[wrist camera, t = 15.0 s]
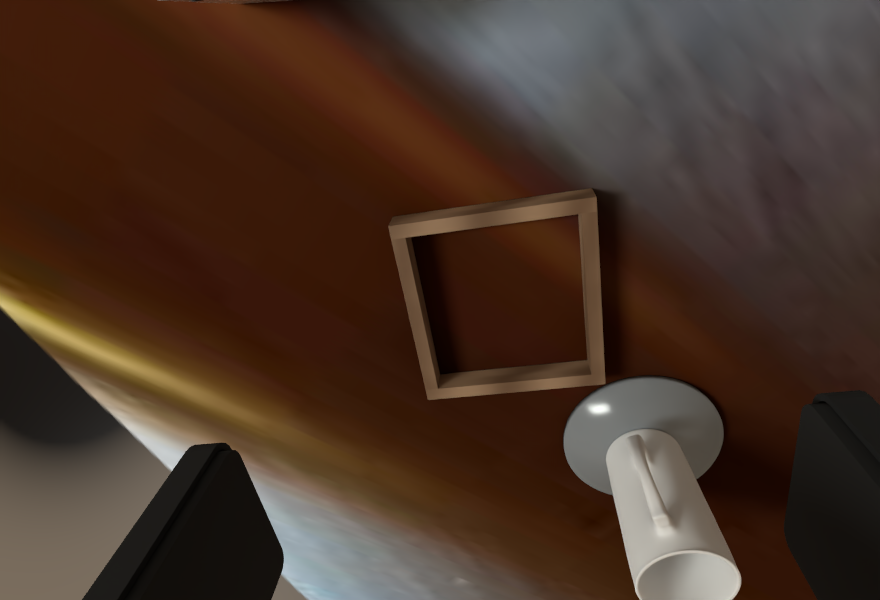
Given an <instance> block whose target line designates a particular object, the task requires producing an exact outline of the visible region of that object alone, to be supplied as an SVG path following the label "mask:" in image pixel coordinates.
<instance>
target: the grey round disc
mask: <svg viewBox="0 0 880 600" xmlns="http://www.w3.org/2000/svg"><path fill="white" fill-rule="evenodd" d="M638 429H655V430H659V431H662V432H665V433H667V434H669V435H670V436H672V437H673V438H674V439H675V440H676V441H677V443H678V444H679V446H680V448H681V450H682V452H683V454H684V456H685V458H686V460H687V462H688V464H689V466H690V468H691V470H692V472H693V474H694V476H695V478H696V479H698V478H699V477H700V476H701V475H703V474H704V473H705V472H706V471H707V470H708V469H709V468H710V467H711V465H712V464H713V463H714V461H715V460H716V458H717V456H718V454H719V452H720V450H721V447H722V443H723V437H724V432H723V424H722V420H721V418H720V415H719V413H718V411H717V410H716V408H715V406H714V405H713V403H712V402H711V401H710V399H709V398H708V397H707V396H706V395H705V394H704V393H702V392H701V391H700V390H699V389H697V388H695V387H694V386H692V385H690V384H688V383H685V382H683V381H680V380H677V379H674V378H669V377H664V376H652V375H648V376H635V377H628V378H624V379H620V380H617V381H614V382H611V383H609V384H606V385H604V386H602V387H600V388H598V389H597V390H595V391H594V392H592V393H590V394H589V395H588V396H587V397H585V398H584V399H583V400H582V401H581V402H580V403H579V404H578V405H577V406H576V407H575V409H574V410H573V411H572V413H571V415H570V416H569V418H568V420H567V423H566V426H565V429H564V435H563V444H564V450H565V456H566V458H567V461H568V463H569V465H570V467H571V469H572V470H573V471H574V472H575V474H576V475H577V476H578V477H579V478H580V479H581V480H582V481H584V482H585V483H586V484H588V485H589V486H591V487H593V488H595V489H597V490H599V491H602V492H604V493H607V494H611V495H613V492H612V488H611V483H610V478H609V473H608V468H607V464H606V455H607V451H608V449H609V447H610V446H611V444H612V443H613V442H614V441H615V440H616V439H617V438H619V437H620V436H622V435H623V434H625V433H628V432H630V431H634V430H638Z"/></svg>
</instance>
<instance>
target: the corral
mask: <svg viewBox="0 0 880 600" xmlns="http://www.w3.org/2000/svg"><path fill="white" fill-rule="evenodd" d="M576 214H578V219H579V234H580V250H581V266H582V282H583V298H584V313H585V329H586V345H587V360H583V361H573V362H563V363H552V364H542V365H531V366H521V367H511V368H500V369H490V370H480V371H469V372H459V373H448V374H440V372H439V367H438V362H437V357H436V353H435V348H434V343H433V338H432V334H431V329H430V324H429V319H428V315H427V310H426V305H425V301H424V296H423V291H422V286H421V282H420V277H419V272H418V267H417V263H416V258H415V253H414V249H413V244H412V239H411V237H415V236H422V235H430V234H437V233H444V232H452V231H459V230H466V229H474V228H481V227H488V226H495V225H503V224H510V223H517V222H525V221H532V220H539V219H547V218H554V217H561V216H568V215H576ZM388 227H389V232H390V236H391V240H392V245H393V249H394V254H395V258H396V262H397V267H398V271H399V275H400V280H401V284H402V288H403V293H404V297H405V301H406V306H407V310H408V315H409V319H410V323H411V328H412V332H413V336H414V341H415V345H416V349H417V354H418V358H419V363H420V367H421V371H422V376H423V380H424V384H425V389H426V393H427V397H428V400H433V399H444V398H455V397H466V396H478V395H489V394H500V393H511V392H522V391H534V390H545V389H556V388H567V387H578V386H590V385H601V384H605V364H604V343H603V321H602V300H601V279H600V257H599V236H598V215H597V197H596V195H595V193H594V191H593V190H592V188H590V189H583V190H576V191H569V192H562V193H555V194H548V195H541V196H534V197H527V198H520V199H513V200H506V201H499V202H492V203H485V204H478V205H472V206H465V207H458V208H451V209H444V210H437V211H430V212H423V213H416V214H409V215H402V216H395V217H393V218H392V220H391V222H390V224H389V226H388Z"/></svg>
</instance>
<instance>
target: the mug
mask: <svg viewBox="0 0 880 600" xmlns="http://www.w3.org/2000/svg"><path fill="white" fill-rule="evenodd" d="M606 464H607V468H608V473H609V478H610V483H611V488H612V492H613V496H614V501H615V505H616V509H617V514H618V518H619V523H620V527H621V531H622V536H623V540H624V545H625V549H626V554H627V558H628V562H629V567H630V571H631V574H632V578H633V582H634V585H635V591H636V594H637V596H638V597H639V599H640V600H732V599H733V598H734V597H735V596H736V594H737V593H738V591H739V589H740V586H741V575H740V572H739V570H738V569H737V566H736V564H735V561H734V559H733V557H732V554H731V552H730V550H729V548H728V546H727V544H726V541H725V539H724V537H723V535H722V533H721V531H720V529H719V527H718V525H717V523H716V521H715V518H714V516H713V514H712V512H711V510H710V508H709V506H708V504H707V502H706V500H705V498H704V495H703V493H702V491H701V489H700V487H699V485H698V483H697V481H696V478H695V476H694V474H693V472H692V470H691V468H690V466H689V464H688V462H687V460H686V458H685V456H684V454H683V452H682V450H681V448H680V446H679V444H678V443H677V441H676V440H675V439H674V438H673V437H672V436H670V435H669V434H667V433H665V432H662V431H659V430H655V429H638V430H634V431H630V432H628V433H625V434H623V435H622V436H620V437H619V438H617V439H616V440H615V441H614V442H613V443H612V444H611V446H610V447H609V449H608V451H607V455H606Z"/></svg>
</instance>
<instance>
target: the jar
mask: <svg viewBox="0 0 880 600" xmlns="http://www.w3.org/2000/svg"><path fill="white" fill-rule="evenodd" d="M161 1H184V2H207V3H229V4H244V3H259V2H275V1H291V0H161Z"/></svg>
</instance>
